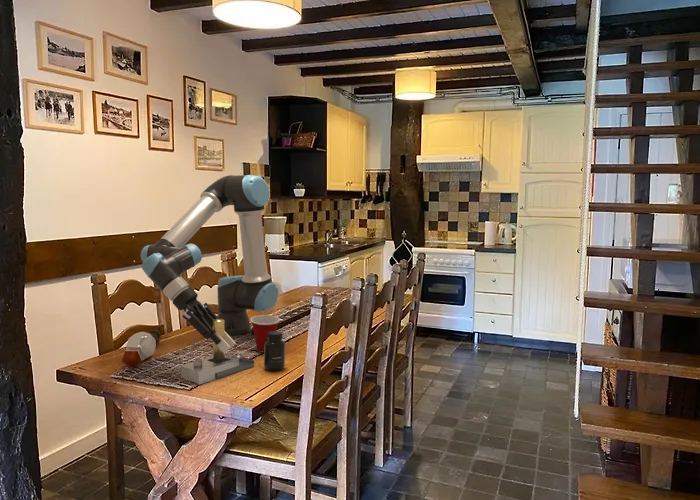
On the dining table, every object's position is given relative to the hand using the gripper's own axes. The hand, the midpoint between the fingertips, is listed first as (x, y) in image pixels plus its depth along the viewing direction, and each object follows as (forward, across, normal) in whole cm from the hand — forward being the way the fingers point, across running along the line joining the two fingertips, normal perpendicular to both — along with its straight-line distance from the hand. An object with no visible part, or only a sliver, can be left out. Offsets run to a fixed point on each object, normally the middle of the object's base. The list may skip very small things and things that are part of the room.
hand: (230, 348), depth 162 cm
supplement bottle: (+15, -8, +3) cm, 17 cm away
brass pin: (0, 0, -5) cm, 5 cm away
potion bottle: (-18, -4, -30) cm, 35 cm away
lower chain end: (+4, -3, -7) cm, 9 cm away
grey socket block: (+2, +3, -9) cm, 10 cm away
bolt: (-23, -25, -35) cm, 49 cm away
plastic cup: (+8, -26, -4) cm, 27 cm away
